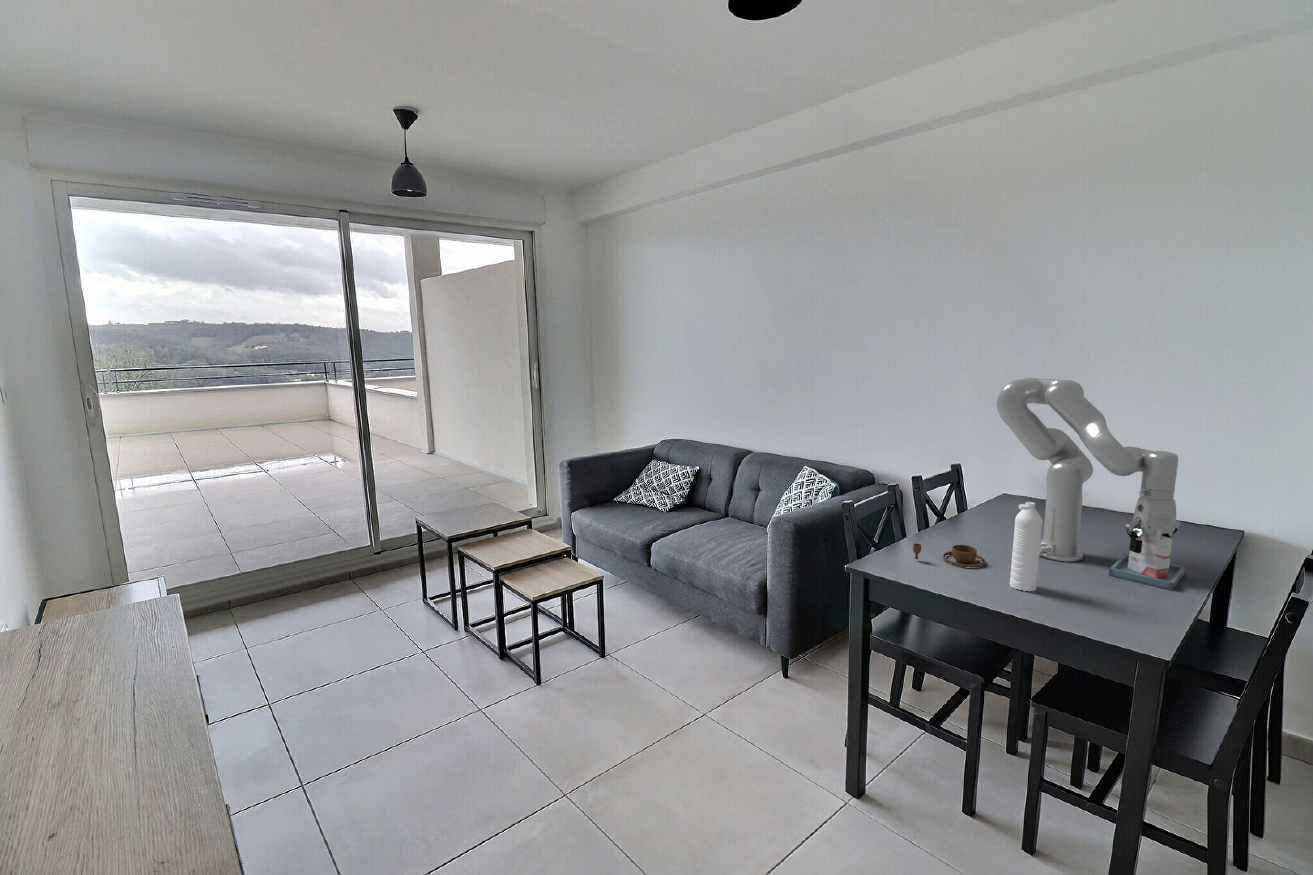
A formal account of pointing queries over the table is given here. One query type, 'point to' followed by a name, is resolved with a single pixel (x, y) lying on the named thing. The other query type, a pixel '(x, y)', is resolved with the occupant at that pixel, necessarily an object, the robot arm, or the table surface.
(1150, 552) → the ink cartridge box
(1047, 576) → the table surface
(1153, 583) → the tray
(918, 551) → the place setting
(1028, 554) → the water bottle
